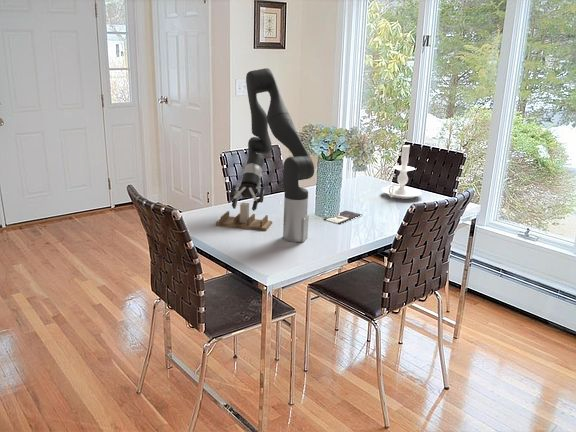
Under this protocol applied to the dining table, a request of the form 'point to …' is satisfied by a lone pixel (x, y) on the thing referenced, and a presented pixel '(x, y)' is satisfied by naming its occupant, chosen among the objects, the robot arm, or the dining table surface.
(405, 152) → the candlestick
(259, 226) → the drying rack
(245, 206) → the clay bar
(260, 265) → the dining table surface
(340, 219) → the chocolate bar
